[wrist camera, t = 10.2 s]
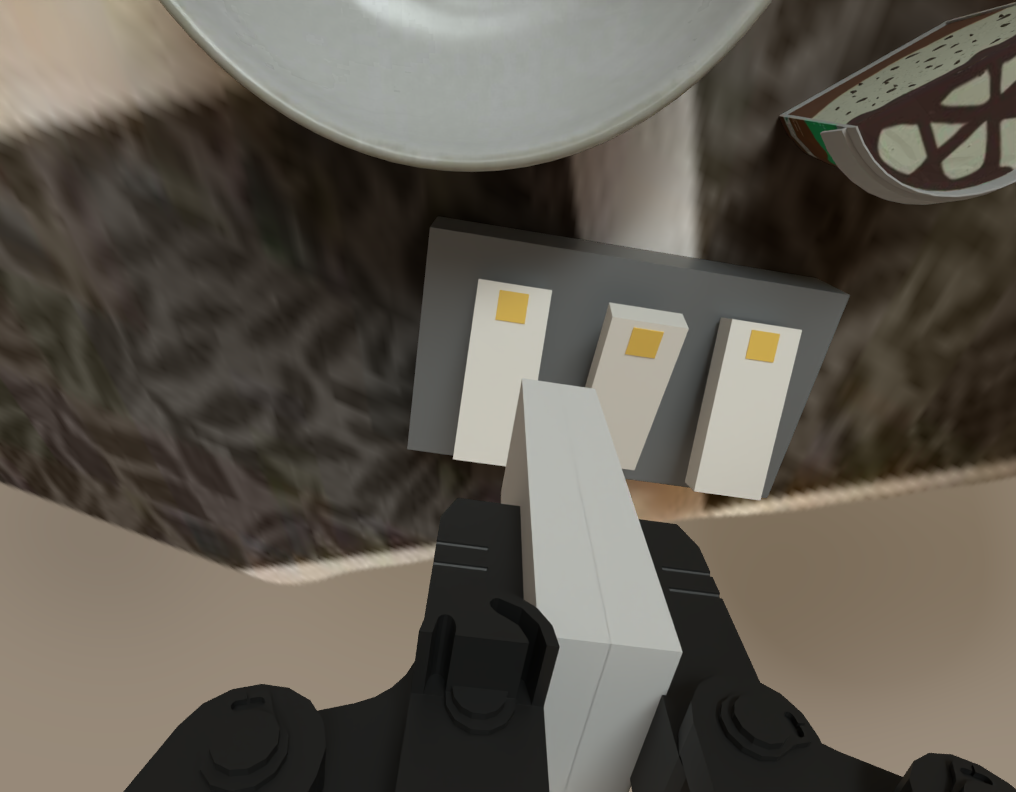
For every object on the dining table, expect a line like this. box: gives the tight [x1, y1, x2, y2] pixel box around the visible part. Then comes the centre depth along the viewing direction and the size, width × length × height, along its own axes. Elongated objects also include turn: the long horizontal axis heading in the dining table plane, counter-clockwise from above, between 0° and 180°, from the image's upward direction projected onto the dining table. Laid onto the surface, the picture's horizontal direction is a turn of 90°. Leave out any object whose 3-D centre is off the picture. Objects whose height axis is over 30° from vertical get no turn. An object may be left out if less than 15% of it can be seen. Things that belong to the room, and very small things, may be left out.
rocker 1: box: [453, 279, 552, 466], centre depth 34 cm, size 10×4×2 cm, turn 171°
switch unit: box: [407, 216, 850, 498], centre depth 38 cm, size 14×24×5 cm, turn 81°
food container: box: [779, 2, 1016, 205], centre depth 29 cm, size 12×6×10 cm, turn 120°
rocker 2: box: [585, 302, 689, 470], centre depth 34 cm, size 10×4×2 cm, turn 171°
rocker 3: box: [685, 317, 802, 500], centre depth 35 cm, size 10×4×2 cm, turn 171°
